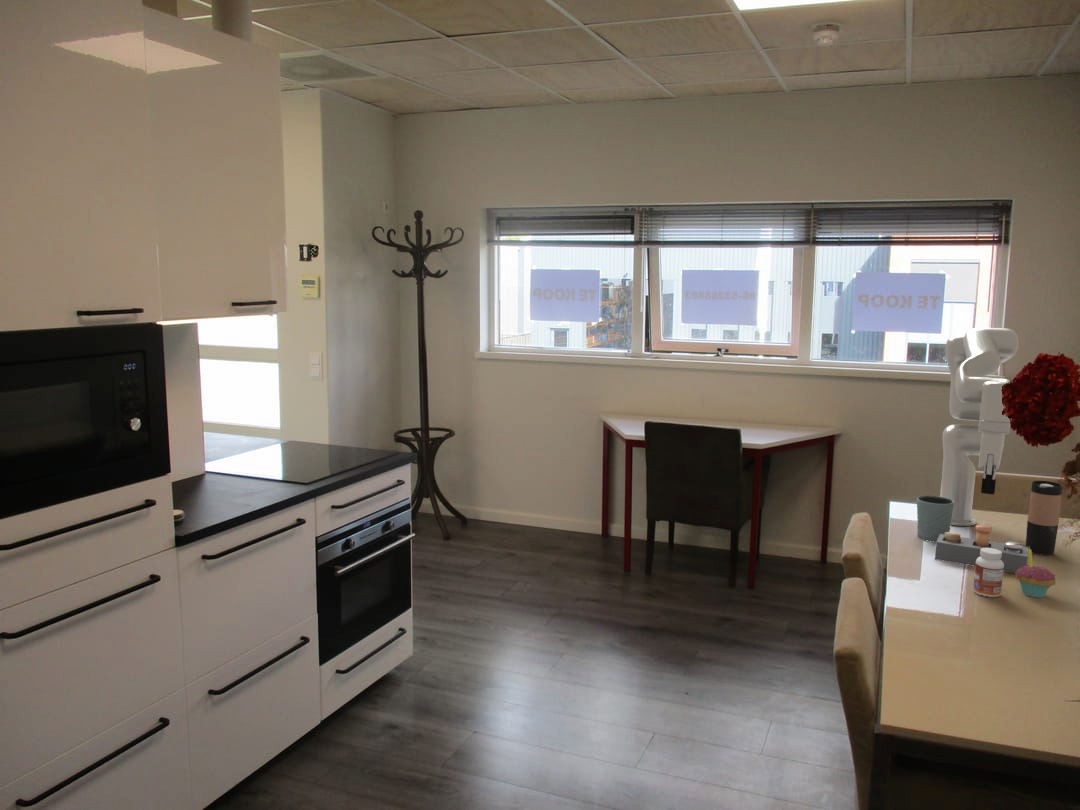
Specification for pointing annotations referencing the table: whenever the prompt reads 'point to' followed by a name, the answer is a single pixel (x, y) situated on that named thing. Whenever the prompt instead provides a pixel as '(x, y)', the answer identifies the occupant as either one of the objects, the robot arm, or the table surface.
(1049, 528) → the travel mug
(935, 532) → the green tapered cup
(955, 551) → the socket block
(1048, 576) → the cupcake
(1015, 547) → the aluminium plug
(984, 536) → the terracotta plug
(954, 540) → the oak plug
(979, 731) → the table surface
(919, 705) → the table surface
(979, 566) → the pill bottle
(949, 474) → the robot arm
